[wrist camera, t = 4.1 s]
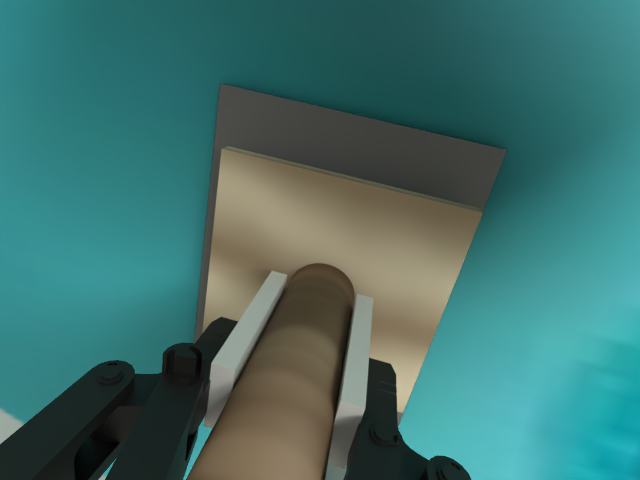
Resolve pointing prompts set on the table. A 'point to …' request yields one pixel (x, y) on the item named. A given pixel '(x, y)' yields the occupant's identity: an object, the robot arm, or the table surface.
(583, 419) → the table surface
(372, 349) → the lid
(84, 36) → the table surface
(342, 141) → the mat
